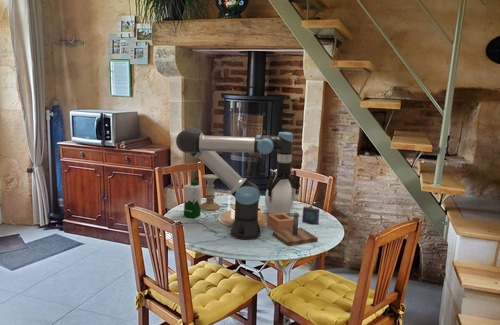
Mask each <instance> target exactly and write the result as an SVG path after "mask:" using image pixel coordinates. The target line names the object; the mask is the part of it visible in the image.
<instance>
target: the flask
mask: <svg viewBox="0 0 500 325" xmlns="http://www.w3.org/2000/svg"><path fill="white" fill-rule="evenodd" d="M313 206H314V204H310V206H308V205H305V206H303V207H302V219H301V220H302V223H304V224H308V225H309V224H310V225H316V226H317V225H319V224H320V223H319V222H320V208H318V207H313Z"/></svg>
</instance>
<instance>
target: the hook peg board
mask: <svg viewBox="0 0 500 325" xmlns="http://www.w3.org/2000/svg"><path fill="white" fill-rule="evenodd" d="M299 217H300V213H299V212H293V217H292V218H293V229H287V230H280V231H275V230H274V231H272V236H273V237H274V238H275V239H277V240H278V241H280V242H281V243H282V244H284V245H285V246H287V247H291V246H297V245H298V246H299V245H305V244H311V243H317V242H318V240H319V237H317V236H316V235H314V234H312V233H310V232H309V231H307V230H306V229H304V228H303V227H299Z"/></svg>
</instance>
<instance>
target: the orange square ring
mask: <svg viewBox="0 0 500 325" xmlns="http://www.w3.org/2000/svg"><path fill="white" fill-rule="evenodd" d="M266 217H267V218H266V226H268V227H269V228H270V229H271V230H274V231H280V230H287V229H293V217H292V216H289V215H288V214H287V215H286V214H285V213H276V214H266Z"/></svg>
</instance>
